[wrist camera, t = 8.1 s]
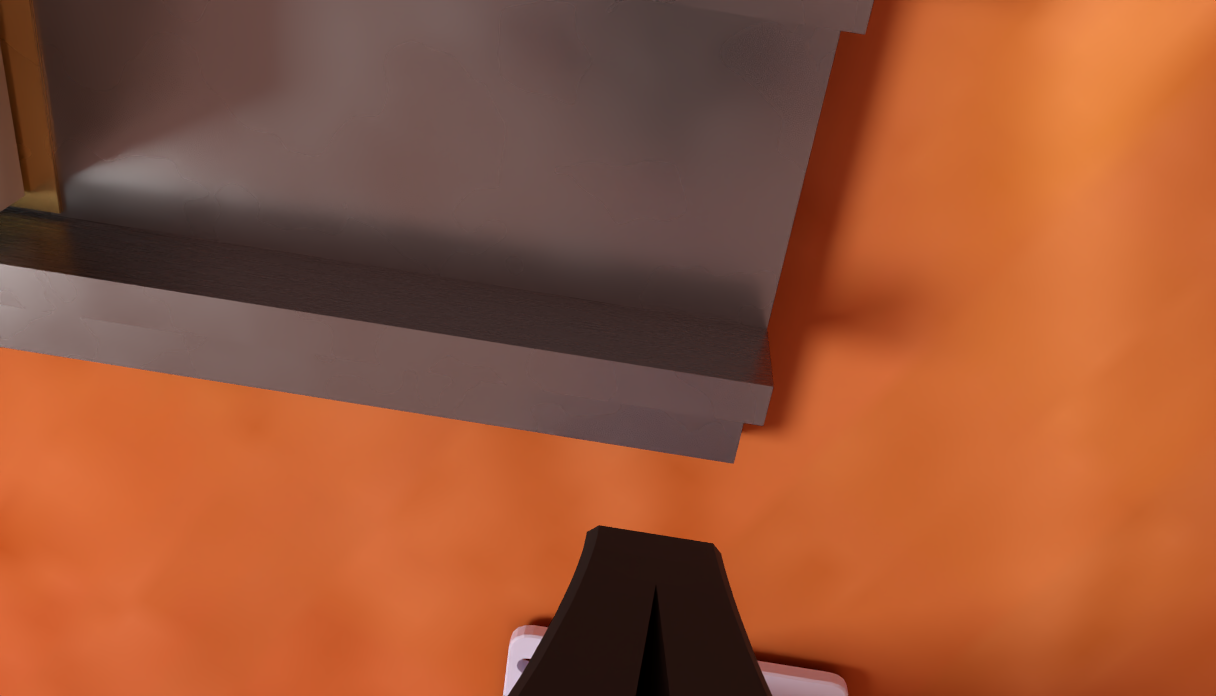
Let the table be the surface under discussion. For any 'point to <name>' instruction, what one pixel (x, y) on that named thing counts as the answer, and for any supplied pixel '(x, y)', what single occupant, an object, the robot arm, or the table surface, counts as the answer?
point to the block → (8, 150)
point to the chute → (421, 200)
